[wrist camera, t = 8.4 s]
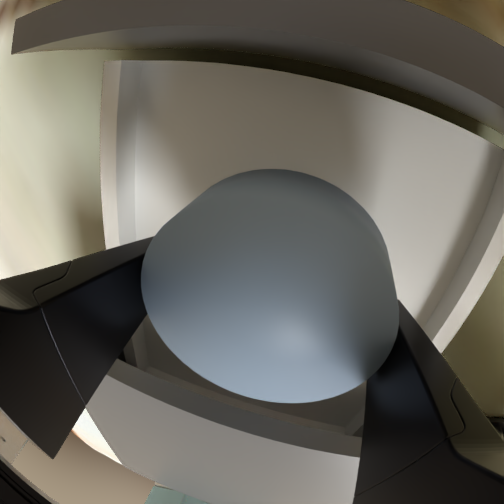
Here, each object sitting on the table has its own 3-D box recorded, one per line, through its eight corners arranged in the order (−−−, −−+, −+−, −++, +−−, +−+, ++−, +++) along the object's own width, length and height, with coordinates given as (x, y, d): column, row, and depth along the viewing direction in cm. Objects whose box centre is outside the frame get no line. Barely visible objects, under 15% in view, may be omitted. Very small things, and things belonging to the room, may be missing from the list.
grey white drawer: (540, 119, 7) (636, 158, 2) (374, 418, 17) (368, 494, 12) (125, 19, 9) (17, 11, 5) (131, 343, 20) (87, 403, 15)
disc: (427, 211, 7) (449, 250, 5) (343, 374, 10) (338, 420, 8) (181, 146, 8) (137, 165, 6) (175, 322, 11) (149, 360, 9)
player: (422, 359, 14) (431, 463, 9) (314, 471, 25) (301, 525, 20) (123, 271, 17) (52, 343, 12) (150, 419, 28) (124, 466, 22)
